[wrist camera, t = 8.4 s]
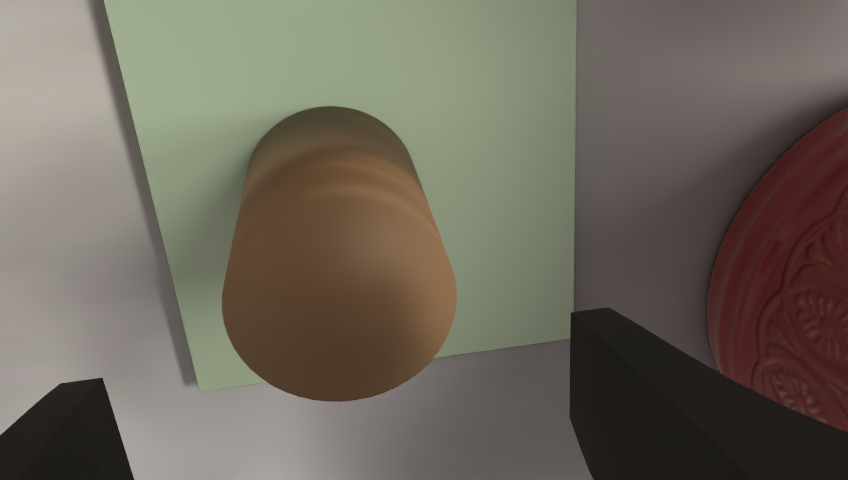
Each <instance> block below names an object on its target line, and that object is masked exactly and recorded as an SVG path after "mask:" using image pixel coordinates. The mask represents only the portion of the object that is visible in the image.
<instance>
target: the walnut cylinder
mask: <svg viewBox="0 0 848 480" xmlns="http://www.w3.org/2000/svg"><path fill="white" fill-rule="evenodd" d="M456 304H457V289H456V282H455V276H454V273H453V270H452V266H451V263H450V261H449V258H448V255H447V253H446V250H445V247H444V245H443V242H442V239H441V237H440V234H439V231H438V229H437V226H436V223H435V220H434V218H433V215H432V212H431V210H430V207H429V204H428V202H427V199H426V196H425V194H424V191H423V188H422V186H421V183H420V180H419V177H418V175H417V172H416V169H415V167H414V164H413V161H412V159H411V157H410V154H409V152H408V150H407V148H406V147H405V145H404V144H403V142H402V141H401V139H400V138H399V137H398V136H397V135H396V133H395V132H394V131H393V130H391V129H390V128H389V127H388V126H387V125H386V124H384V123H383V122H381V121H380V120H378V119H377V118H375V117H373V116H371V115H369V114H367V113H364V112H362V111H359V110H356V109H351V108H346V107H338V106H324V107H316V108H310V109H307V110H303V111H300V112H297V113H295V114H293V115H291V116H289V117H287V118H285V119H284V120H282V121H281V122H279V123H277V124H276V125H275V126H274V127H273V128H272V129H270V130H269V131H268V132H267V133H266V135H265V136H264V137H263V138H262V139H261V140H260V142H259V143H258V145H257V146H256V148H255V150H254V152H253V154H252V156H251V158H250V161H249V164H248V167H247V172H246V177H245V182H244V187H243V191H242V196H241V201H240V206H239V211H238V216H237V221H236V226H235V231H234V236H233V241H232V246H231V251H230V256H229V260H228V265H227V270H226V275H225V280H224V286H223V292H222V314H223V321H224V325H225V328H226V332H227V335H228V337H229V339H230V341H231V343H232V345H233V348H234V349H235V351H236V352H237V353H238V355H239V356H240V358H241V359H242V360H243V361H244V363H245V364H246V365H247V366H248V367H249V368H250V369H251V370H252V371H253V372H254V373H256V374H257V375H258V376H259V377H260V378H262V379H263V380H265V381H266V382H268V383H269V384H271V385H272V386H274V387H277V388H279V389H281V390H283V391H285V392H287V393H290V394H293V395H296V396H299V397H303V398H308V399H312V400H320V401H351V400H358V399H363V398H368V397H372V396H375V395H378V394H381V393H384V392H386V391H389V390H391V389H393V388H395V387H397V386H399V385H401V384H403V383H404V382H406V381H408V380H409V379H411V378H412V377H413V376H415V375H416V374H417V373H419V372H420V371H421V370H422V369H423V368H424V367H425V366H426V365H427V364H428V363H429V362H430V361H431V360H432V359H433V358H434V356H435V355H436V354H437V353H438V352H439V350H440V348H441V347H442V345H443V344H444V342H445V340H446V338H447V336H448V334H449V332H450V330H451V327H452V323H453V320H454V317H455V311H456Z"/></svg>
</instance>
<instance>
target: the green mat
mask: <svg viewBox="0 0 848 480" xmlns="http://www.w3.org/2000/svg"><path fill="white" fill-rule="evenodd" d="M104 4H105V8H106V12H107V16H108V20H109V24H110V28H111V32H112V36H113V40H114V45H115V49H116V53H117V57H118V61H119V65H120V69H121V73H122V77H123V81H124V85H125V89H126V93H127V97H128V102H129V106H130V110H131V114H132V118H133V122H134V126H135V130H136V134H137V138H138V142H139V146H140V150H141V154H142V158H143V163H144V167H145V171H146V175H147V179H148V183H149V187H150V191H151V195H152V199H153V203H154V207H155V211H156V215H157V220H158V224H159V228H160V232H161V236H162V240H163V244H164V248H165V252H166V256H167V260H168V264H169V268H170V272H171V276H172V281H173V285H174V289H175V293H176V297H177V301H178V305H179V309H180V313H181V317H182V321H183V325H184V329H185V333H186V338H187V342H188V346H189V350H190V354H191V358H192V362H193V366H194V370H195V374H196V378H197V382H198V386H199V390H200V392H201V391H208V390H215V389H222V388H229V387H236V386H243V385H250V384H257V383H264V382H266V381H265V380H263V379H262V378H260V377H259V376H258V375H257V374H256V373H254V372H253V371H252V370H251V369H250V368H249V367H248V366H247V365H246V364H245V363H244V361H243V360H242V359H241V358H240V356H239V355H238V353H237V352H236V351H235V349H234V348H233V345H232V343H231V341H230V339H229V337H228V335H227V332H226V328H225V325H224V321H223V314H222V292H223V286H224V280H225V275H226V270H227V265H228V260H229V256H230V251H231V246H232V241H233V236H234V231H235V226H236V221H237V216H238V211H239V206H240V201H241V196H242V191H243V187H244V182H245V177H246V172H247V167H248V164H249V161H250V158H251V156H252V154H253V152H254V150H255V148H256V146H257V145H258V143H259V142H260V140H261V139H262V138H263V137H264V136H265V135H266V133H267V132H268V131H269V130H270V129H272V128H273V127H274V126H275V125H276V124H277V123H279V122H281V121H282V120H284V119H285V118H287V117H289V116H291V115H293V114H295V113H297V112H300V111H303V110H307V109H310V108H316V107H324V106H338V107H346V108H351V109H356V110H359V111H362V112H364V113H367V114H369V115H371V116H373V117H375V118H377V119H378V120H380V121H381V122H383V123H384V124H386V125H387V126H388V127H389V128H390V129H391V130H393V131H394V132H395V133H396V135H397V136H398V137H399V138H400V139H401V141H402V142H403V144H404V145H405V147H406V148H407V150H408V152H409V154H410V157H411V159H412V161H413V164H414V167H415V169H416V172H417V175H418V177H419V180H420V183H421V186H422V188H423V191H424V194H425V196H426V199H427V202H428V204H429V207H430V210H431V212H432V215H433V218H434V220H435V223H436V226H437V229H438V231H439V234H440V237H441V239H442V242H443V245H444V247H445V250H446V253H447V255H448V258H449V261H450V263H451V266H452V270H453V273H454V276H455V282H456V289H457V304H456V311H455V317H454V320H453V323H452V327H451V330H450V332H449V334H448V336H447V338H446V340H445V342H444V344H443V345H442V347H441V348H440V350H439V352H438V353H437V354H436V355H435V356H434V358H439V357H446V356H453V355H460V354H467V353H474V352H481V351H488V350H495V349H502V348H509V347H516V346H523V345H530V344H537V343H544V342H551V341H558V340H565V339H570V320H571V313H572V312H574V229H575V128H576V26H577V0H104Z"/></svg>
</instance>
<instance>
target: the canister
mask: <svg viewBox="0 0 848 480" xmlns="http://www.w3.org/2000/svg"><path fill="white" fill-rule="evenodd" d="M706 319H707V332H708V339H709V344H710V348H711V352H712V355H713V358H714V361H715V364H716V366H717V368H718V370H719V372H720V373H721V374H722V375H724V376H726V377H728V378H730V379H732V380H734V381H735V382H737V383H739V384H741V385H743V386H745V387H747V388H749V389H751V390H753V391H755V392H757V393H759V394H761V395H763V396H765V397H767V398H769V399H771V400H773V401H775V402H777V403H779V404H782V405H784V406H786V407H788V408H790V409H792V410H795V411H797V412H800V413H802V414H804V415H807V416H809V417H811V418H814V419H816V420H818V421H821V422H823V423H826V424H828V425H830V426H833V427H835V428H837V429H840V430H843V431H845V432H848V107H846V108H844V109H842V110H841V111H839V112H837V113H835V114H834V115H832V116H831V117H829V118H828V119H826V120H825V121H823V122H822V123H820V124H819V125H818V126H816V127H815V128H814V129H812V130H811V131H810V132H808V133H807V134H806V135H805V136H803V137H802V138H801V139H800V140H799V141H798V142H796V143H795V144H794V145H793V146H792V147H791V148H790V149H789V150H788V151H787V152H785V153H784V154H783V155H782V156H781V157H780V158H779V159H778V160H777V161H776V162H775V164H774V165H773V166H772V167H771V168H770V169H769V170H768V171H767V172H766V173H765V175H764V176H763V177H762V178H761V180H760V181H759V182H758V183H757V185H756V186H755V187H754V188H753V190H752V191H751V193H750V194H749V195H748V197H747V198H746V200H745V201H744V203H743V204H742V206H741V208H740V209H739V211H738V212H737V214H736V216H735V218H734V219H733V221H732V223H731V225H730V227H729V229H728V231H727V233H726V235H725V237H724V240H723V242H722V244H721V247H720V249H719V252H718V255H717V257H716V260H715V264H714V267H713V271H712V274H711V279H710V284H709V289H708V297H707V313H706Z"/></svg>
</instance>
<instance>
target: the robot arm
mask: <svg viewBox="0 0 848 480" xmlns="http://www.w3.org/2000/svg"><path fill="white" fill-rule="evenodd" d="M570 419H571V422H572V425H573V428H574V431H575V433H576V436H577V439H578V442H579V445H580V448H581V450H582V453H583V455H584V458H585V461H586V463H587V466H588V469H589V471H590V473H591V475H592V477H593V479H594V480H848V432H845V431H843V430H840V429H837V428H835V427H833V426H830V425H828V424H826V423H823V422H821V421H818V420H816V419H814V418H811V417H809V416H807V415H804V414H802V413H800V412H797V411H795V410H792V409H790V408H788V407H786V406H784V405H782V404H779V403H777V402H775V401H773V400H771V399H769V398H767V397H765V396H763V395H761V394H759V393H757V392H755V391H753V390H751V389H749V388H747V387H745V386H743V385H741V384H739V383H737V382H735V381H734V380H732V379H730V378H728V377H726V376H724V375H722V374H721V373H719V372H717V371H715V370H713V369H712V368H710V367H708V366H706V365H704V364H703V363H701V362H699V361H698V360H696V359H694V358H692V357H691V356H689V355H687V354H686V353H684V352H682V351H680V350H679V349H677V348H675V347H674V346H672V345H670V344H669V343H667V342H666V341H664V340H662V339H661V338H659V337H657V336H656V335H654V334H652V333H651V332H649V331H648V330H646V329H644V328H643V327H641V326H639V325H638V324H636V323H634V322H633V321H631V320H629V319H628V318H626V317H624V316H623V315H621V314H619V313H617V312H616V311H614V310H612V309H610V308H600V309H593V310H586V311H579V312H572V313H571V320H570ZM0 480H134V478H133V475H132V471H131V468H130V465H129V462H128V459H127V455H126V452H125V449H124V446H123V442H122V439H121V436H120V433H119V430H118V426H117V423H116V420H115V417H114V413H113V410H112V407H111V404H110V400H109V397H108V394H107V391H106V388H105V384H104V381H103V378H97V379H90V380H83V381H75V382H68V383H61V384H59V385H58V386H57V387H55V388H54V389H53V390H52V391H50V392H49V393H48V394H47V395H45V396H44V397H43V398H42V399H41V400H40V401H38V402H37V403H36V404H35V405H34V406H33V407H32V408H30V409H29V410H28V411H27V412H26V413H25V414H24V415H23V416H21V417H20V418H19V419H18V420H17V421H16V422H15V423H14V424H12V425H11V426H10V427H9V428H8V429H7V430H6V431H5V432H4V433H2V434H1V435H0Z"/></svg>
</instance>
